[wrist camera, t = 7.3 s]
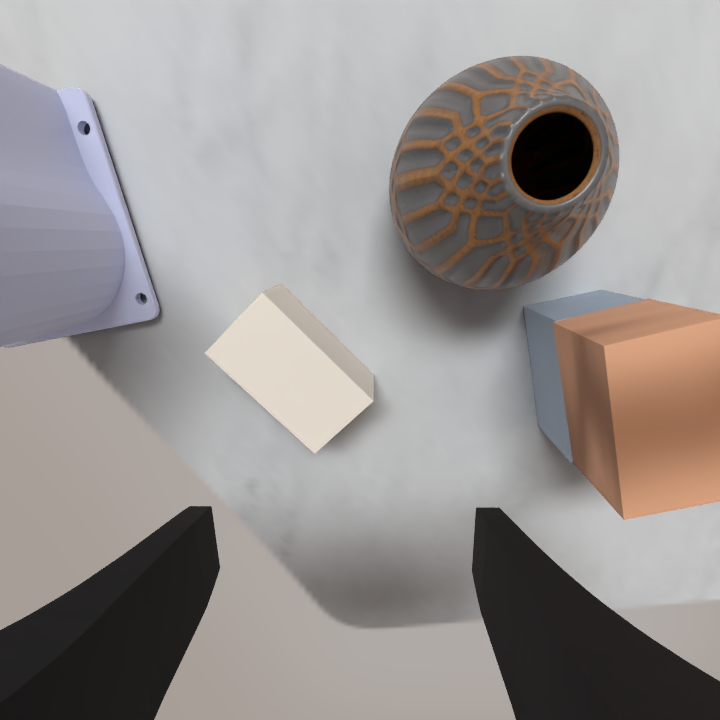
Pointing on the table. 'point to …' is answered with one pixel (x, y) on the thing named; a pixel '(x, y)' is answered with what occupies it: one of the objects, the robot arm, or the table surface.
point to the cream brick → (294, 367)
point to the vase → (504, 172)
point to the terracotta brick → (644, 404)
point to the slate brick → (546, 357)
